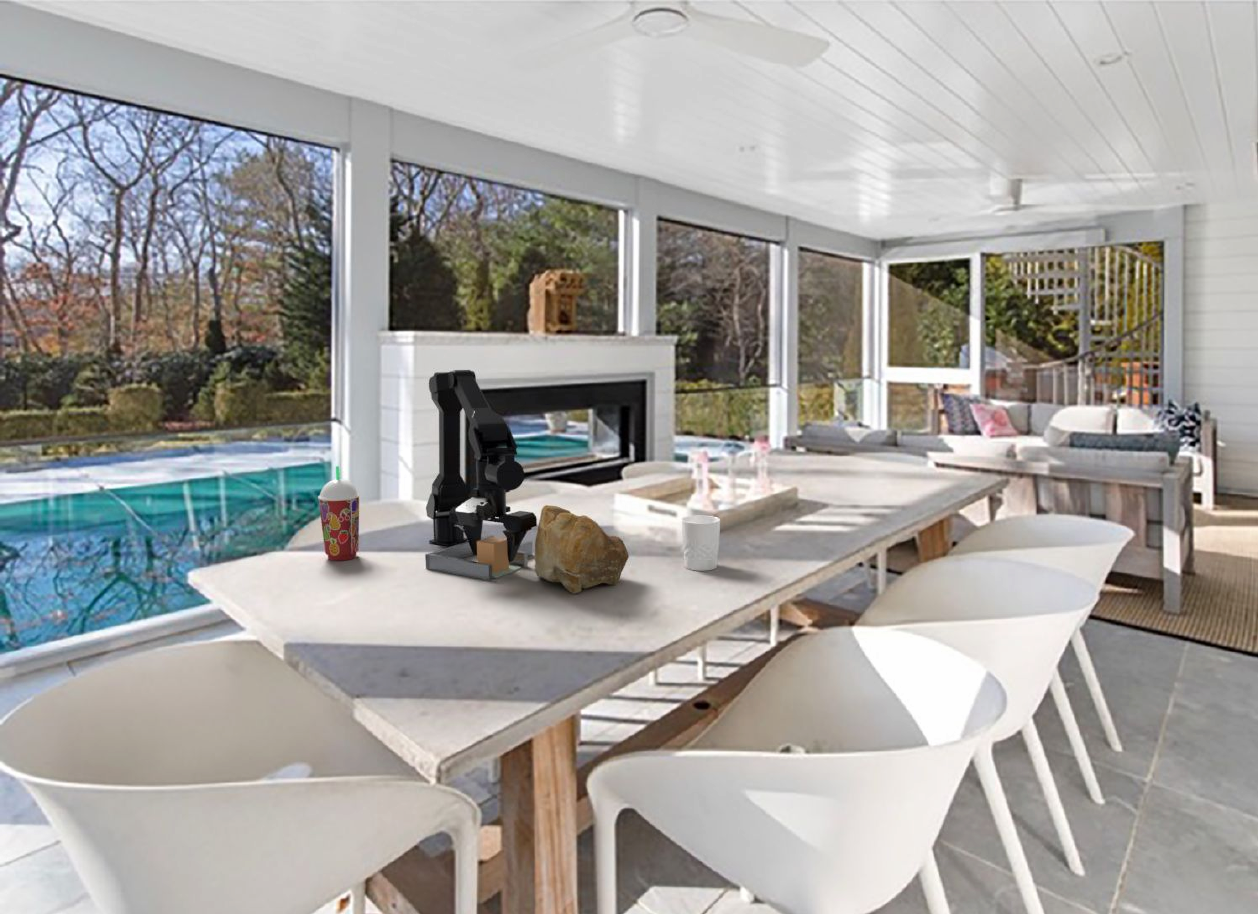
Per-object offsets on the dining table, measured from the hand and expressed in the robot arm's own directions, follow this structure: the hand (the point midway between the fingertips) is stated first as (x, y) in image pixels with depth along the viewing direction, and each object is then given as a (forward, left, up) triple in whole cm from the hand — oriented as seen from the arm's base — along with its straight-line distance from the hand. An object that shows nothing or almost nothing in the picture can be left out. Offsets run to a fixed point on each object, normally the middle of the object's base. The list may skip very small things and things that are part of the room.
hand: (493, 558), depth 161 cm
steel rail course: (-4, +4, -3) cm, 7 cm away
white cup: (+35, +24, -3) cm, 43 cm away
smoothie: (-35, -9, -3) cm, 36 cm away
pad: (0, 0, -2) cm, 2 cm away
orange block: (0, 0, -2) cm, 2 cm away
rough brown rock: (+21, +3, -3) cm, 21 cm away
